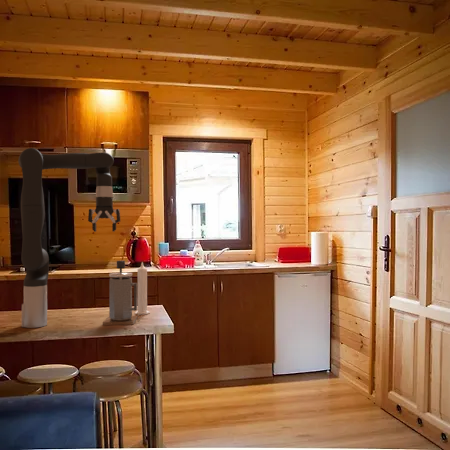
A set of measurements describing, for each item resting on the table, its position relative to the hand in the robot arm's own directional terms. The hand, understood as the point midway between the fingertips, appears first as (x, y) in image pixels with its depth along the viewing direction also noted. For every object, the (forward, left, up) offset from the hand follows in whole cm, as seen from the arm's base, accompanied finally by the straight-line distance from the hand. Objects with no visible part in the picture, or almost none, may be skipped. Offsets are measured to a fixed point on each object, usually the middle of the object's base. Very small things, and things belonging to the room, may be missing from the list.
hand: (104, 231), depth 202 cm
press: (+9, -8, -40) cm, 42 cm away
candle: (+16, +10, -40) cm, 44 cm away
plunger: (+9, -8, -37) cm, 39 cm away
